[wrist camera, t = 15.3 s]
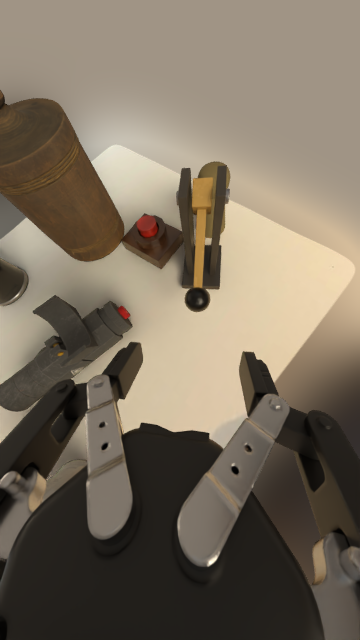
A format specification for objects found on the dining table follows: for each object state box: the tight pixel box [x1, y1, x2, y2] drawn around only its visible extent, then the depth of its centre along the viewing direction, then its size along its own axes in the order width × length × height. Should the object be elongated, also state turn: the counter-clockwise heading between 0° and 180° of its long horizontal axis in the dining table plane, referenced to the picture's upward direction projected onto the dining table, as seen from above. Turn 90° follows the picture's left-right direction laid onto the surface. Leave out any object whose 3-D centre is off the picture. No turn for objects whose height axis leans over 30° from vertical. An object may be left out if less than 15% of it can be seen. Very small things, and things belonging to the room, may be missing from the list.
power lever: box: [185, 177, 213, 312], centre depth 21 cm, size 15×3×3 cm, turn 173°
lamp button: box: [137, 215, 158, 238], centre depth 32 cm, size 4×4×2 cm
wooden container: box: [0, 90, 124, 261], centre depth 29 cm, size 15×15×22 cm
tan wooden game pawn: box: [198, 162, 230, 238], centre depth 31 cm, size 6×6×11 cm
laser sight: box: [0, 295, 133, 412], centre depth 27 cm, size 10×22×10 cm, turn 129°
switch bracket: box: [176, 165, 230, 289], centre depth 26 cm, size 9×7×16 cm
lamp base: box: [121, 214, 183, 269], centre depth 34 cm, size 10×8×4 cm
